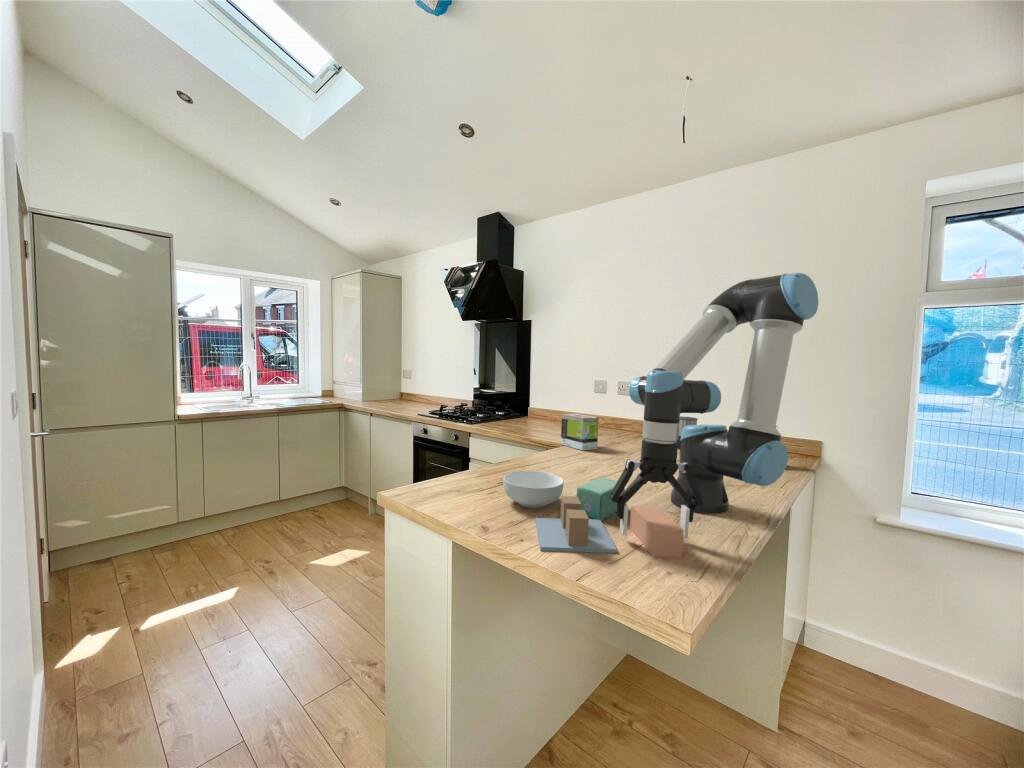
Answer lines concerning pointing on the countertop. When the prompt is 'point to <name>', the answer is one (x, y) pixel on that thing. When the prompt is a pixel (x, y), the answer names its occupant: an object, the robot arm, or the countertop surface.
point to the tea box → (579, 431)
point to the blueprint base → (559, 541)
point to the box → (597, 498)
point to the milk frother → (684, 422)
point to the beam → (656, 531)
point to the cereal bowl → (533, 488)
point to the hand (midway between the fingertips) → (653, 534)
